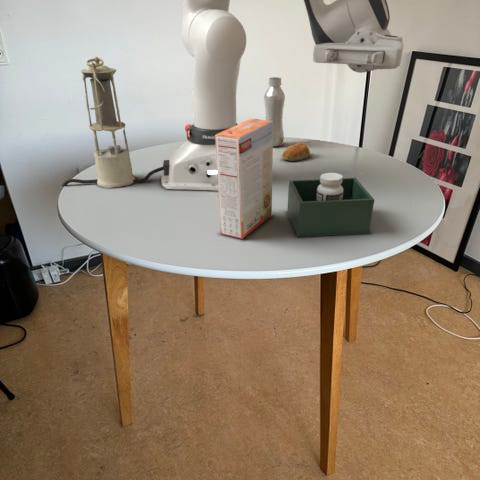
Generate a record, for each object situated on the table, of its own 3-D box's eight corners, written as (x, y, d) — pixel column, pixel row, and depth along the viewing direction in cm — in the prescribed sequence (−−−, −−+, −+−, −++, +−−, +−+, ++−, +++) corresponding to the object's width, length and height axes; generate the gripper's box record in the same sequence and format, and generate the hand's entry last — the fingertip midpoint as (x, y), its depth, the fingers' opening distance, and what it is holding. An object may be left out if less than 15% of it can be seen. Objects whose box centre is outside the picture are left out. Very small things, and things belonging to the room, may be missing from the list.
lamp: (137, 174, 130) (120, 53, 113) (130, 191, 120) (109, 61, 102) (101, 175, 130) (78, 54, 112) (90, 192, 120) (62, 61, 102)
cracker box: (249, 211, 108) (249, 117, 96) (272, 216, 106) (275, 120, 93) (218, 234, 99) (213, 132, 86) (242, 240, 96) (241, 136, 84)
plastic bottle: (284, 148, 149) (287, 79, 138) (263, 148, 150) (264, 80, 138) (283, 142, 155) (285, 76, 143) (263, 142, 155) (264, 76, 143)
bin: (297, 237, 97) (300, 203, 93) (287, 212, 108) (288, 180, 103) (368, 233, 98) (374, 199, 94) (351, 209, 109) (355, 177, 104)
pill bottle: (342, 217, 104) (348, 173, 98) (336, 227, 99) (342, 182, 94) (318, 213, 105) (322, 170, 100) (311, 223, 101) (315, 178, 95)
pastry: (294, 164, 136) (295, 150, 134) (276, 160, 140) (276, 147, 138) (311, 156, 142) (312, 143, 140) (293, 152, 146) (294, 140, 143)
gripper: (323, 34, 112) (305, 40, 102) (409, 37, 105) (398, 43, 95) (321, 64, 116) (303, 72, 106) (404, 68, 109) (392, 77, 99)
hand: (348, 58), depth 101 cm, fingers open, 8 cm apart
